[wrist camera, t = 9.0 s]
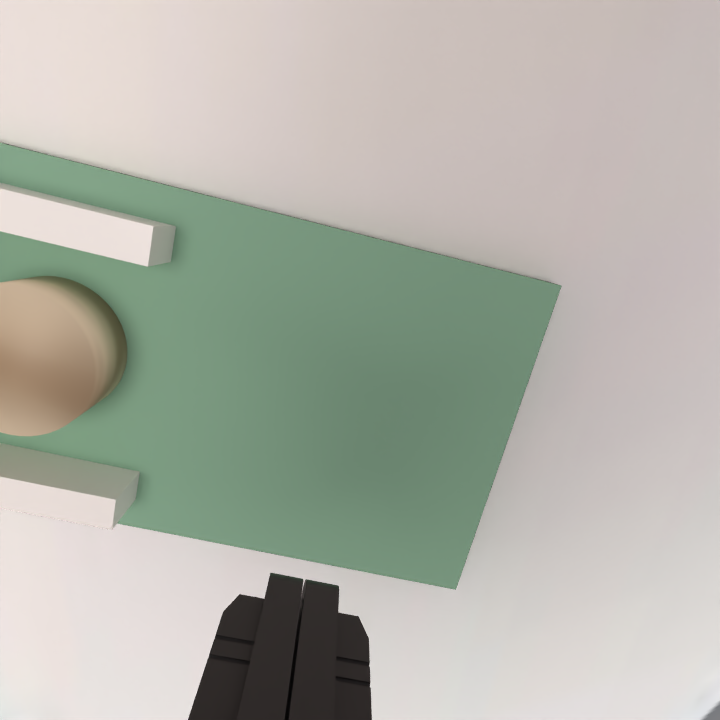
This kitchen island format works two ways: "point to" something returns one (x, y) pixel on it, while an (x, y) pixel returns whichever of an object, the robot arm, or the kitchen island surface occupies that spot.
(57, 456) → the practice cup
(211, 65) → the kitchen island surface
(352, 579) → the kitchen island surface
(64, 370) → the puck
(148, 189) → the putting green
